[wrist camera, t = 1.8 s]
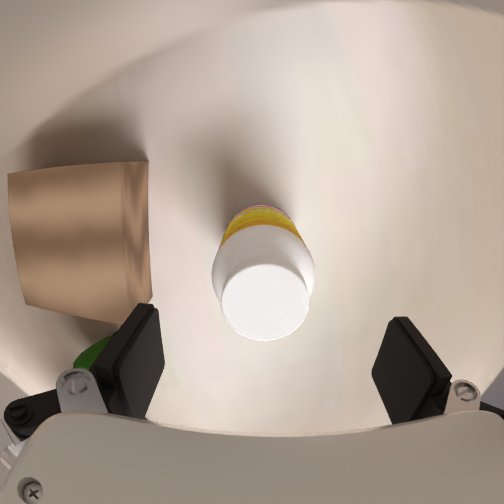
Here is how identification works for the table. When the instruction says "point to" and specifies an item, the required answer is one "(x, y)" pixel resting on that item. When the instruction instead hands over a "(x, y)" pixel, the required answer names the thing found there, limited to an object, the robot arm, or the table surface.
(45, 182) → the walnut block
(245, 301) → the supplement bottle
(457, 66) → the table surface
